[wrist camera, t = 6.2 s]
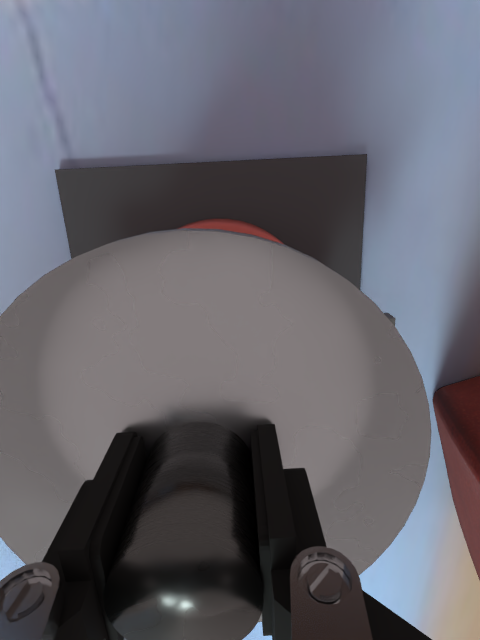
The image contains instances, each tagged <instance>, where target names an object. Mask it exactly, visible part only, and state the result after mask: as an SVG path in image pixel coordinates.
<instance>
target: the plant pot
mask: <svg viewBox="0 0 480 640" xmlns="http://www.w3.org/2000/svg"><path fill="white" fill-rule="evenodd" d="M433 406H434V411H435V416H436V421H437V426H438V430H439V435H440V440H441V444H442V449H443V454H444V458H445V463H446V468H447V473H448V478H449V483H450V487H451V492H452V497H453V501H454V505H455V508H456V512H457V515H458V519H459V522H460V525H461V528H462V531H463V534H464V537H465V540H466V543H467V546H468V549H469V552H470V555H471V558H472V561H473V563H474V566H475V569H476V572H477V575H478V577H479V580H480V376H478V377H474V378H471V379H468V380H464V381H461V382H458V383H454V384H451V385H447V386H444V387H442V388H440V389H439V390H438V391H437V392H436V393H435V394H434V397H433Z"/></svg>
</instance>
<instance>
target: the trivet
mask: <svg viewBox="0 0 480 640" xmlns="http://www.w3.org/2000/svg"><path fill="white" fill-rule="evenodd" d="M366 165H367V154H362V155H342V156H321V157H301V158H281V159H261V160H241V161H221V162H201V163H180V164H160V165H140V166H120V167H100V168H80V169H59V170H55V173H56V179H57V184H58V189H59V194H60V200H61V205H62V210H63V216H64V221H65V226H66V232H67V237H68V242H69V248H70V253H71V258H74V257H76V256H79V255H81V254H84V253H86V252H89V251H91V250H94V249H96V248H99V247H101V246H104V245H106V244H109V243H112V242H115V241H118V240H121V239H125V238H129V237H133V236H137V235H141V234H145V233H149V232H155V231H164V230H173V229H178V228H180V227H182V226H185V225H187V224H190V223H193V222H197V221H201V220H207V219H232V220H239V221H243V222H246V223H250V224H253V225H255V226H257V227H260V228H262V229H264V230H266V231H267V232H269V233H270V234H272V235H274V236H275V237H276V238H277V239H279V240H280V241H281V242H282V243H283V244H285V245H287V246H289V247H291V248H293V249H295V250H298V251H300V252H302V253H304V254H306V255H308V256H311V257H313V258H314V259H316V260H317V261H319V262H321V263H322V264H324V265H325V266H327V267H328V268H330V269H332V270H333V271H335V272H336V273H338V274H339V275H341V276H342V277H344V278H345V279H347V280H348V281H350V282H351V283H352V284H353V285H354V286H355V287H357V288H358V289H359V290H360V277H361V258H362V239H363V221H364V202H365V184H366Z"/></svg>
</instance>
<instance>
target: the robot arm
mask: <svg viewBox="0 0 480 640" xmlns="http://www.w3.org/2000/svg"><path fill="white" fill-rule="evenodd" d="M250 433H251V453H252V468H253V482H254V495H255V508H256V521H257V535H258V548H259V561H260V574H261V582H262V587H263V597H264V602H263V610H262V625H263V636H268V635H272V640H432V639H430V638H429V637H428V636H426V635H425V634H423V633H422V632H421V631H419V630H418V629H416V628H415V627H414V626H412V625H411V624H409V623H408V622H406V621H405V620H404V619H402V618H401V617H399V616H398V615H397V614H395V613H394V612H392V611H391V610H390V609H388V608H387V607H385V606H384V605H383V604H381V603H380V602H378V601H377V600H376V599H374V598H373V597H371V596H370V595H368V594H367V593H366V592H364V591H363V590H362V587H361V583H360V578H359V576H358V573H357V570H356V568H355V567H354V565H353V564H352V563H351V561H350V560H349V559H348V558H347V557H345V556H344V555H343V554H342V553H340V552H338V551H336V550H334V549H332V548H328V547H327V546H326V542H325V539H324V535H323V531H322V528H321V524H320V520H319V517H318V513H317V509H316V506H315V502H314V498H313V495H312V491H311V487H310V484H309V480H308V476H307V473H306V470H305V468H290V469H283V465H282V459H281V454H280V449H279V444H278V438H277V433H276V428H275V424H265V425H257V430H250ZM146 461H147V457H146V450H145V444H144V438H143V437H142V436H137V433H136V432H121V433H116V435H115V436H114V438H113V440H112V442H111V444H110V446H109V448H108V450H107V452H106V454H105V456H104V458H103V460H102V462H101V465H100V467H99V469H98V471H97V473H96V475H95V477H94V479H93V480H86V481H85V482H84V483H83V485H82V486H81V488H80V490H79V492H78V494H77V496H76V497H75V499H74V501H73V503H72V505H71V507H70V509H69V511H68V513H67V515H66V516H65V518H64V520H63V522H62V524H61V526H60V528H59V530H58V532H57V534H56V535H55V537H54V539H53V541H52V543H51V545H50V547H49V549H48V551H47V553H46V554H45V556H44V558H43V560H42V562H35V563H32V564H28V565H25V566H23V567H21V568H19V569H17V570H15V571H13V572H11V573H10V574H9V575H7V576H6V577H5V578H3V579H2V580H1V581H0V640H127V639H125V638H124V637H123V636H122V635H121V634H120V633H119V632H118V631H117V630H116V629H115V628H114V627H113V625H112V624H111V622H110V621H109V619H108V617H107V615H106V611H105V608H104V601H103V597H104V589H105V585H106V582H107V579H108V576H109V573H110V570H111V567H112V564H113V561H114V558H115V555H116V552H117V549H118V546H119V543H120V540H121V537H122V534H123V531H124V528H125V525H126V522H127V519H128V516H129V512H130V509H131V506H132V503H133V500H134V497H135V494H136V491H137V488H138V485H139V482H140V479H141V476H142V473H143V470H144V467H145V464H146Z"/></svg>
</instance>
